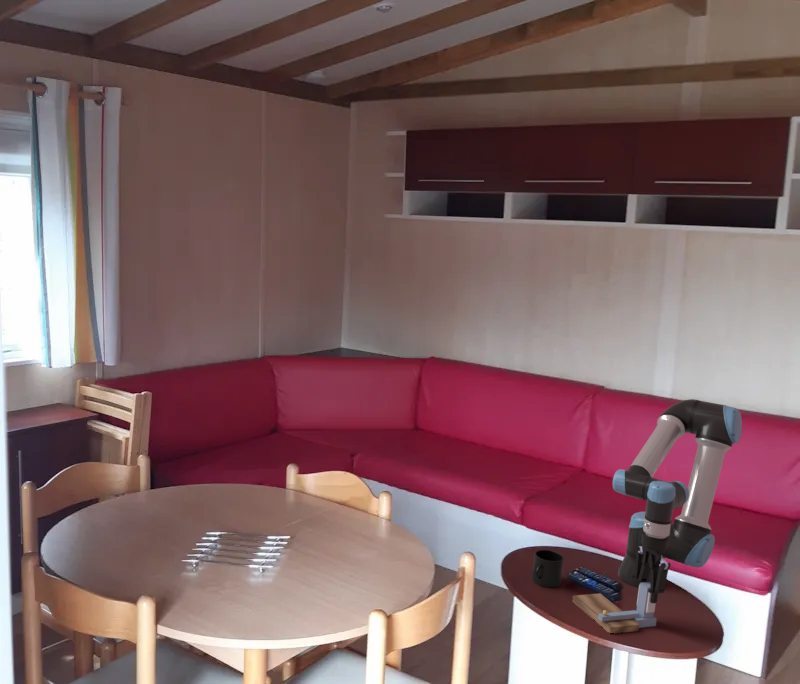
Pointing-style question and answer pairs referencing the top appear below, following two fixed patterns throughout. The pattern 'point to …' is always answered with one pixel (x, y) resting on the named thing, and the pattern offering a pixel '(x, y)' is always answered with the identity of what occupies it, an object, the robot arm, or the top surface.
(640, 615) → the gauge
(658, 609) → the top surface
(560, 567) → the mug
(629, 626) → the board
